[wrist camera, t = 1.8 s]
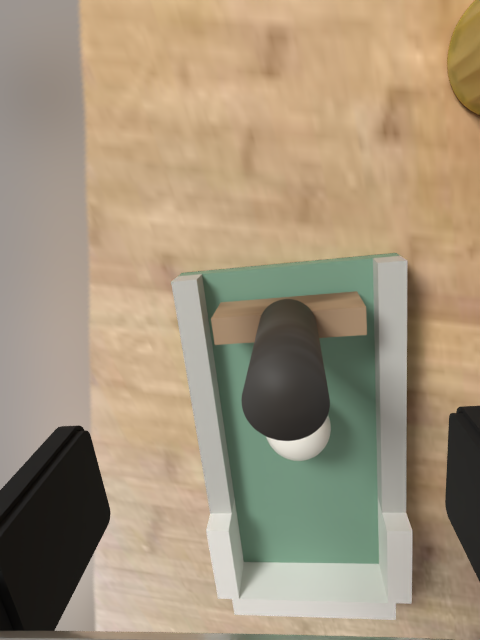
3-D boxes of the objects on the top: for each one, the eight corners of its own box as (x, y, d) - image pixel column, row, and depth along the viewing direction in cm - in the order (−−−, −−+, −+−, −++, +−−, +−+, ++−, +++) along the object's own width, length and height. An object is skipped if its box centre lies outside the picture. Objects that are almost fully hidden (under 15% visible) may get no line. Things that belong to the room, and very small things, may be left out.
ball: (326, 380, 26) (331, 413, 22) (329, 434, 27) (335, 474, 24) (263, 383, 27) (258, 416, 23) (269, 436, 28) (265, 476, 24)
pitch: (396, 252, 24) (415, 265, 21) (397, 567, 31) (411, 620, 28) (182, 273, 26) (163, 288, 22) (228, 565, 33) (220, 614, 30)
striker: (356, 278, 24) (408, 355, 13) (357, 328, 25) (407, 437, 14) (219, 290, 25) (165, 369, 14) (225, 337, 26) (179, 444, 15)
